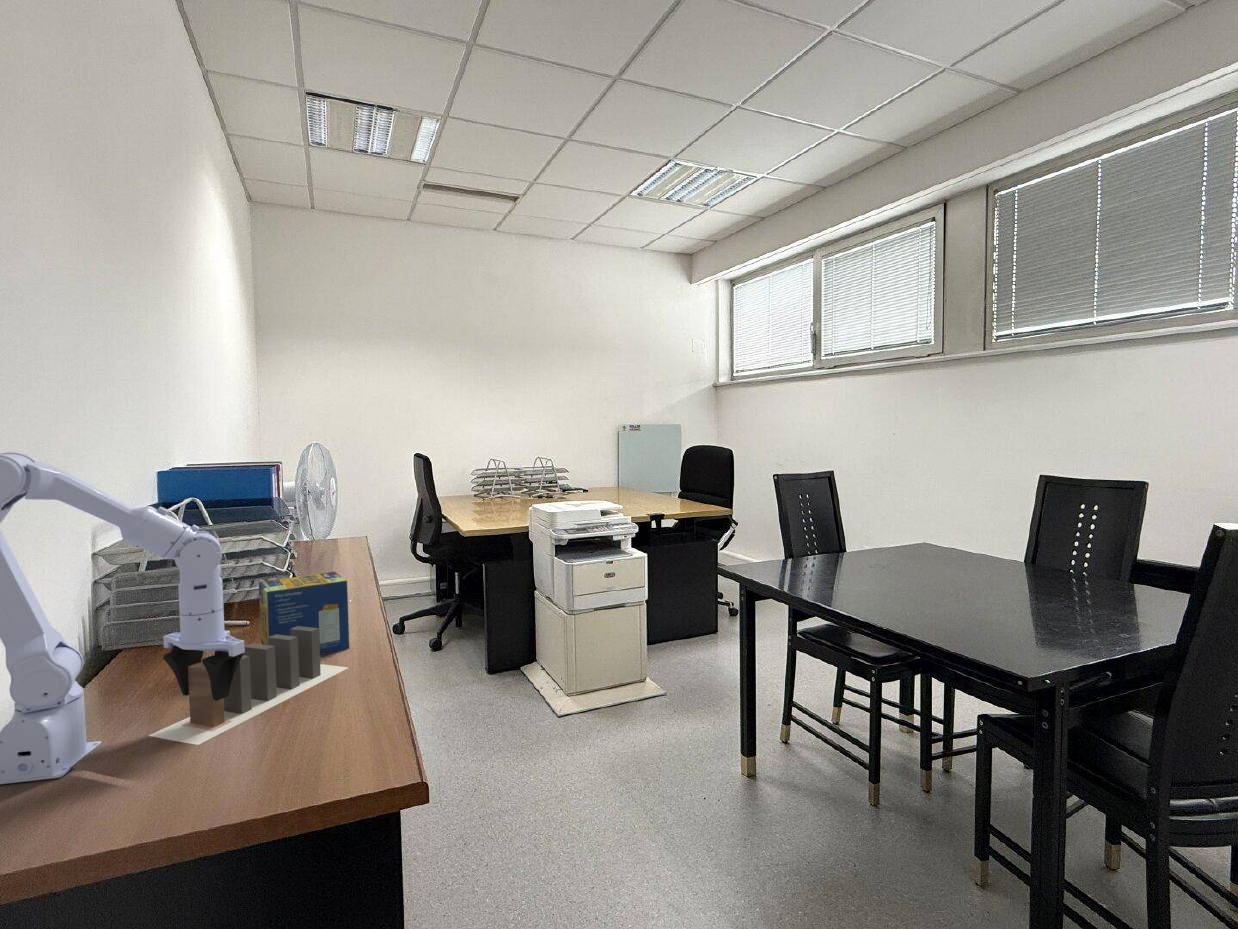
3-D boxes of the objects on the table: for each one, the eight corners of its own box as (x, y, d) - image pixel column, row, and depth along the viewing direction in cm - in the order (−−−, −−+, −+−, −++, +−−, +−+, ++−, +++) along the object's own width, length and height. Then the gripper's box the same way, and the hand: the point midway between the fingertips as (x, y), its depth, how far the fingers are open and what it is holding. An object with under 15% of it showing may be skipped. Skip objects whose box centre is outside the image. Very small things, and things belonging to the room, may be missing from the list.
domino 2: (242, 714, 101) (239, 660, 100) (218, 710, 102) (216, 657, 102) (251, 709, 102) (249, 656, 102) (228, 705, 104) (226, 653, 103)
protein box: (260, 654, 130) (257, 581, 129) (338, 638, 139) (336, 571, 139) (268, 669, 122) (265, 591, 121) (350, 651, 131) (348, 579, 130)
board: (198, 749, 91) (197, 744, 91) (148, 739, 94) (148, 735, 94) (349, 670, 120) (348, 667, 120) (307, 665, 123) (307, 662, 123)
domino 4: (291, 689, 110) (289, 640, 110) (269, 686, 112) (267, 637, 111) (299, 685, 112) (297, 636, 111) (277, 682, 113) (275, 634, 113)
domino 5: (313, 678, 115) (311, 631, 114) (291, 676, 116) (290, 629, 116) (320, 675, 117) (318, 628, 116) (299, 672, 118) (297, 626, 118)
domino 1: (214, 727, 96) (211, 669, 95) (190, 723, 97) (187, 666, 97) (224, 722, 98) (222, 665, 97) (201, 718, 99) (198, 662, 99)
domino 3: (268, 701, 105) (265, 649, 105) (245, 697, 107) (243, 646, 106) (276, 697, 107) (274, 646, 107) (254, 693, 109) (252, 643, 108)
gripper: (259, 606, 98) (263, 690, 99) (191, 600, 102) (195, 680, 103) (219, 619, 91) (223, 709, 92) (148, 612, 96) (152, 698, 96)
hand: (205, 695), depth 97 cm, fingers open, 6 cm apart
